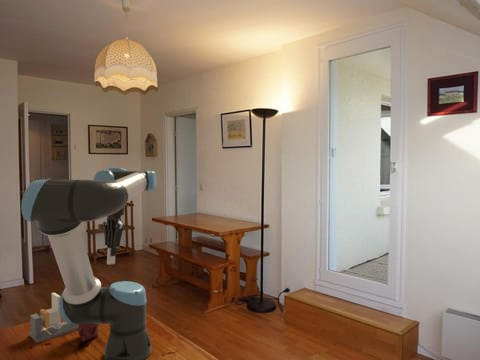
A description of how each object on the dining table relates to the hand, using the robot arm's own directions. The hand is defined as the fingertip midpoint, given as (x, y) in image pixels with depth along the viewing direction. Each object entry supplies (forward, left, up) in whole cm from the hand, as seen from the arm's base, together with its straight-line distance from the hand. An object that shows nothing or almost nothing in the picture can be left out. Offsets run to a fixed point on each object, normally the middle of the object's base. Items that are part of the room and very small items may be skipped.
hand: (110, 263), depth 145 cm
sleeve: (+6, +20, -21) cm, 30 cm away
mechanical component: (-7, +12, -24) cm, 28 cm away
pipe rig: (+6, +18, -24) cm, 31 cm away
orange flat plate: (+6, +23, -20) cm, 31 cm away
